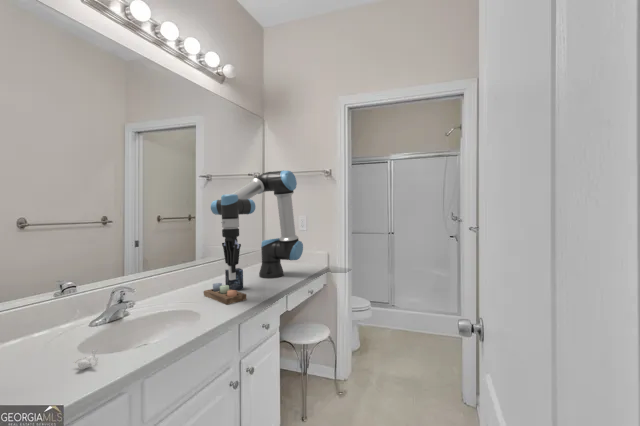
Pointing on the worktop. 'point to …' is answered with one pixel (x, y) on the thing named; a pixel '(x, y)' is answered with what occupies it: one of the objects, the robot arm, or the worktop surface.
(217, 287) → the plunger slate
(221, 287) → the plunger sage
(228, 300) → the wooden tray
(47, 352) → the worktop surface
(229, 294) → the plunger terracotta
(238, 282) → the box
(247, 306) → the worktop surface
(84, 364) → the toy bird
